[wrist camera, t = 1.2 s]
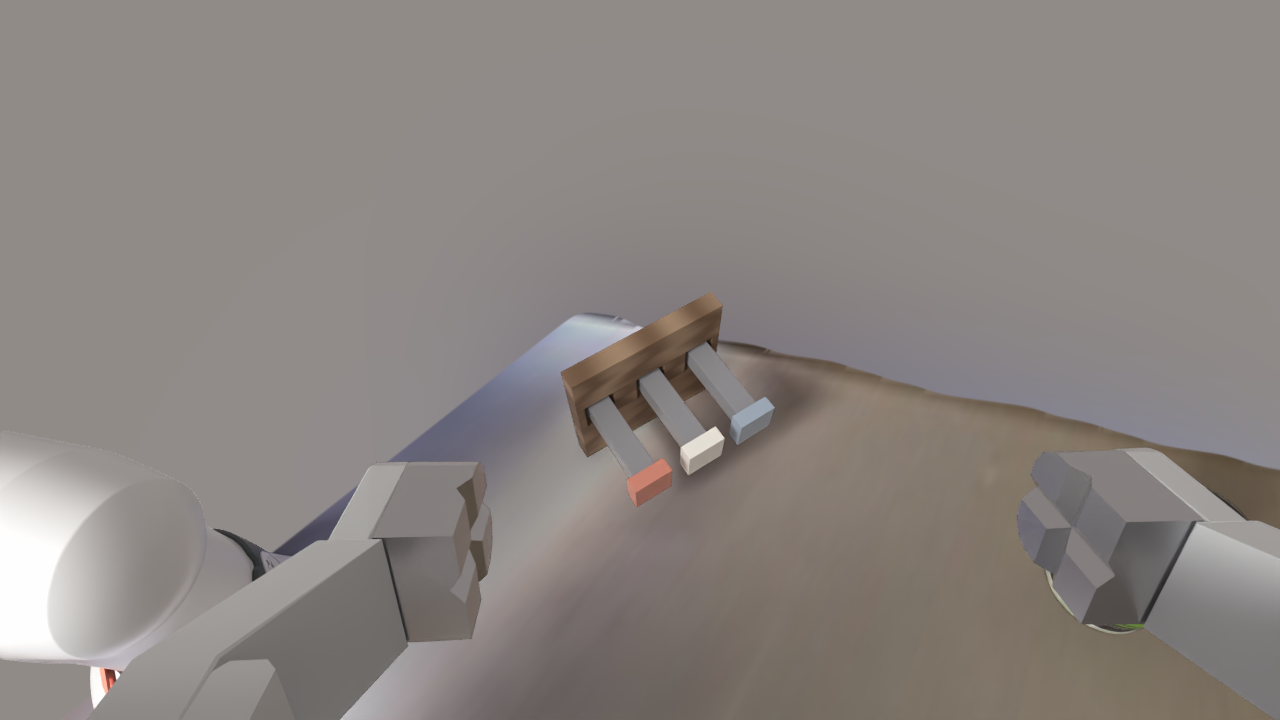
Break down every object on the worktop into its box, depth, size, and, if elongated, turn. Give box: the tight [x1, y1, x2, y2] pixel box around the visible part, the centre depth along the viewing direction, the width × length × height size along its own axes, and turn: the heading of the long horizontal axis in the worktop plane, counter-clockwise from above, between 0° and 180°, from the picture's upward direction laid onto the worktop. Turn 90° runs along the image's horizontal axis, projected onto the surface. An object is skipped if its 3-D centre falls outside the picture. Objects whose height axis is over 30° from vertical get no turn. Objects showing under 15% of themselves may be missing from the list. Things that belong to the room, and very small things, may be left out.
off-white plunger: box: [636, 368, 725, 475], centre depth 66 cm, size 4×12×4 cm, turn 32°
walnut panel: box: [561, 292, 723, 457], centre depth 69 cm, size 17×2×16 cm, turn 122°
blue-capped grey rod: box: [685, 341, 775, 445], centre depth 68 cm, size 4×12×4 cm, turn 32°
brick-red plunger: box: [584, 396, 672, 507], centre depth 65 cm, size 4×12×4 cm, turn 32°
